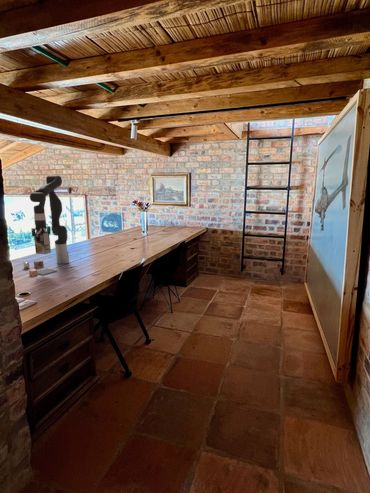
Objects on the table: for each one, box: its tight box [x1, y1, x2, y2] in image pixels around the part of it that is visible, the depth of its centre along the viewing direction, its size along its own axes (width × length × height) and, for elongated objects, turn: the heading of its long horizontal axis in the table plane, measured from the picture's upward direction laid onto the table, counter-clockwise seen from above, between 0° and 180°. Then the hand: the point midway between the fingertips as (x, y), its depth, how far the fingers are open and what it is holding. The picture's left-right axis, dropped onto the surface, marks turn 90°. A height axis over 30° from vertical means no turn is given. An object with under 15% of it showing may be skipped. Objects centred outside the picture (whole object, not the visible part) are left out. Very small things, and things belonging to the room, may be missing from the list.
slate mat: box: [37, 268, 58, 276], centre depth 219 cm, size 12×12×1 cm
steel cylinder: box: [23, 261, 30, 270], centre depth 229 cm, size 4×4×5 cm
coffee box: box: [33, 232, 52, 255], centre depth 215 cm, size 9×6×16 cm
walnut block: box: [33, 259, 44, 269], centre depth 234 cm, size 5×5×5 cm
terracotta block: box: [28, 268, 39, 277], centre depth 212 cm, size 4×4×4 cm
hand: (42, 240), depth 214 cm, fingers closed on coffee box, 7 cm apart
